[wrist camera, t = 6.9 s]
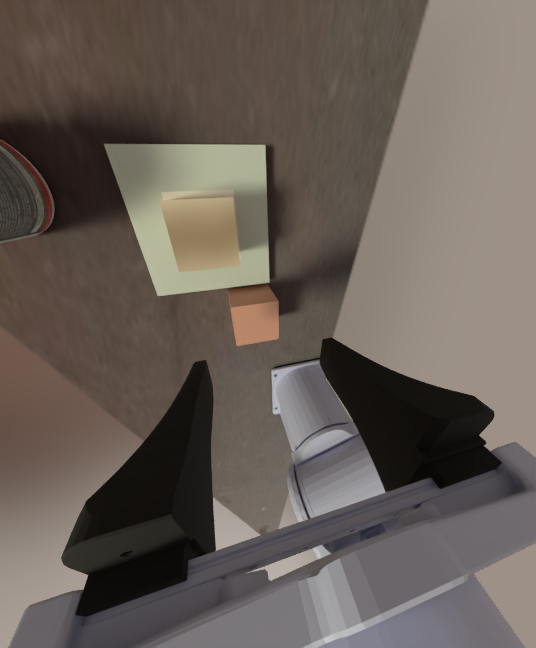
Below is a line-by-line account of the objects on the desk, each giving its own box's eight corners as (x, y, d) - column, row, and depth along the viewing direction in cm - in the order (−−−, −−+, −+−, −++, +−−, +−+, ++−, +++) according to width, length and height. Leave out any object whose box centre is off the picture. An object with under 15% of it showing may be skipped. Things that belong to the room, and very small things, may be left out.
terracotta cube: (268, 318, 23) (278, 338, 19) (232, 323, 22) (236, 346, 19) (267, 284, 20) (278, 301, 17) (227, 288, 20) (231, 307, 16)
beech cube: (234, 252, 17) (240, 265, 14) (185, 257, 16) (179, 272, 13) (228, 197, 15) (232, 197, 12) (171, 199, 14) (158, 200, 11)
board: (267, 279, 20) (269, 282, 19) (159, 292, 18) (157, 296, 17) (262, 147, 15) (265, 144, 14) (109, 146, 13) (103, 143, 12)
